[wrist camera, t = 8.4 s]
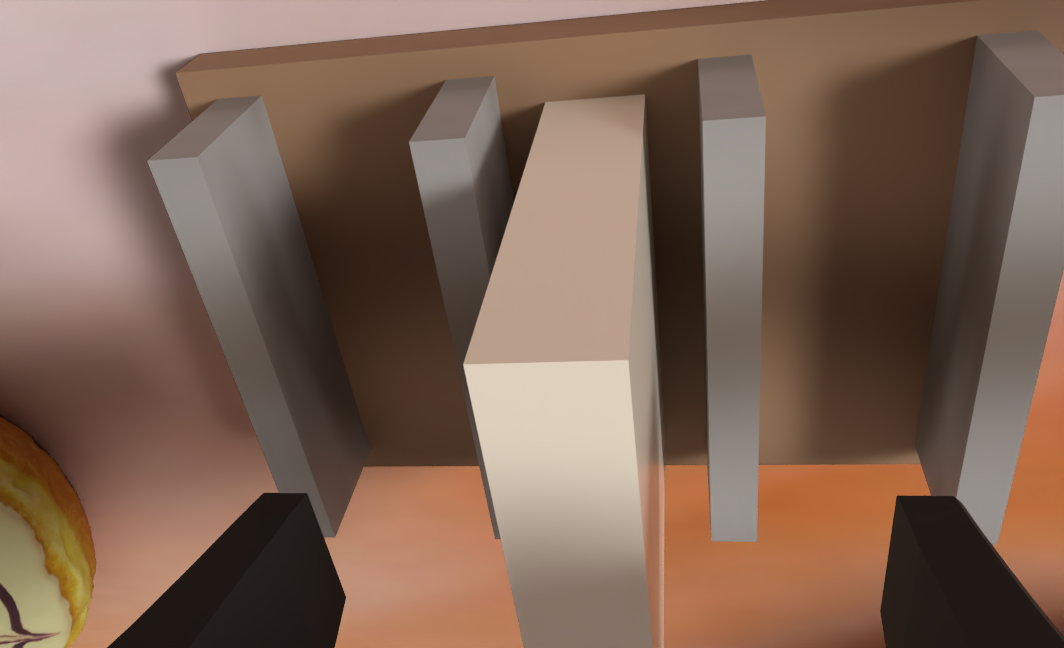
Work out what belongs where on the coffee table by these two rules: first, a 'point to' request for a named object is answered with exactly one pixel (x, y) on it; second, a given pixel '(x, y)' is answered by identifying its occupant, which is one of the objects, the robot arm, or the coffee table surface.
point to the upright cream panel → (577, 384)
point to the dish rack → (678, 227)
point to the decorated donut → (40, 548)
